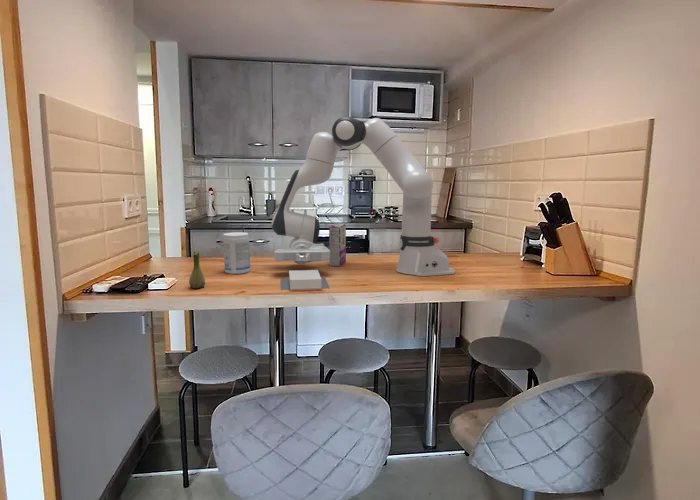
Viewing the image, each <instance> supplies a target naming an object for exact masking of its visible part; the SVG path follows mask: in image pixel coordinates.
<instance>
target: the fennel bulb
mask: <svg viewBox="0 0 700 500" xmlns="http://www.w3.org/2000/svg"><path fill="white" fill-rule="evenodd" d="M192 255H193V269H192V272H191V274H190V275H189V278H188V283H189V284H188V285H189V286H190V287H191V289H192V288H193V289H201V288H203V287H205V286H206V278H205V275H204V273H203V271H202V268H201V266H200V252H199V251H196V250H195V251H193V254H192Z"/></svg>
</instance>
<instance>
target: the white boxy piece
mask: <svg viewBox="0 0 700 500" xmlns="http://www.w3.org/2000/svg"><path fill="white" fill-rule="evenodd" d="M288 278H289V284H290V290H289V291H290V292H297V291H298V292H300V291H303V292H304V291H322V290H323V289H322V279H321V275H320V271H319V270H318V269H307V270H306V269H305V270H304V269H303V270H302V269H300V270H298V269H297V270H295V269H294V270H288Z"/></svg>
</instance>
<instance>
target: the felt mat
mask: <svg viewBox="0 0 700 500" xmlns="http://www.w3.org/2000/svg"><path fill="white" fill-rule="evenodd" d="M320 277H321V276H320ZM321 279H322V290H323V289H326V290H327V289H331V287H330V285H329V283H328V281H327V279H326V276H325V277H321ZM279 280H280V290H281V291H282V290H283V291H285V290H289V291H290V284H289V277H286V278H285V277H284V278H279Z"/></svg>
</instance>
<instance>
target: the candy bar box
mask: <svg viewBox="0 0 700 500" xmlns="http://www.w3.org/2000/svg"><path fill="white" fill-rule="evenodd" d="M346 225H347V224H346V223H334V224H332V225H330V226H329V227H328V235H329V236H328V241H329V244H328V245H329V246H328V247H329V248H328V249H329V250H330V260H328V261H329V262H328V263H329V267H341V266H342V265H343V264H345V263H346V261H347V248H346V247H347V243H346V241H347V235H346V234H347V231H346V230H347V227H346Z"/></svg>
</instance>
